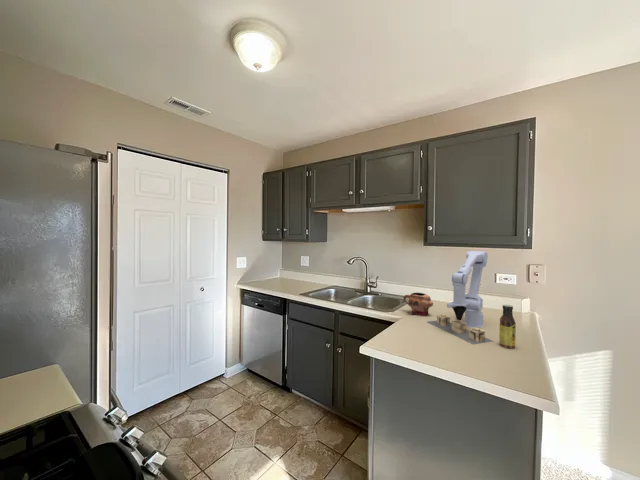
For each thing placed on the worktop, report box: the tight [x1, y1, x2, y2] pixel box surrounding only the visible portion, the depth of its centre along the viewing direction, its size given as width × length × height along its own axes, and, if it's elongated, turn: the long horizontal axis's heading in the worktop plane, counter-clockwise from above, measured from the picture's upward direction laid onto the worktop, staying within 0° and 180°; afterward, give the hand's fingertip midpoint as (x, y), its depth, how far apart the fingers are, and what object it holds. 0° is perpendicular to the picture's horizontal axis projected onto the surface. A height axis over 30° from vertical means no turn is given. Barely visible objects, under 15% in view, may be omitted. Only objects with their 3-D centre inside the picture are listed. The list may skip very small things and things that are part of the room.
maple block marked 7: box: [468, 327, 486, 342], centre depth 134 cm, size 5×5×5 cm
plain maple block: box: [451, 320, 467, 334], centre depth 145 cm, size 5×5×5 cm
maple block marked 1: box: [436, 313, 451, 326], centre depth 156 cm, size 5×5×5 cm
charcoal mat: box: [426, 320, 494, 345], centre depth 147 cm, size 13×34×1 cm, turn 17°
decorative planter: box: [403, 292, 434, 317], centre depth 178 cm, size 20×12×14 cm, turn 51°
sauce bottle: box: [498, 304, 517, 350], centre depth 127 cm, size 6×6×20 cm
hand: (458, 319), depth 145 cm, fingers closed
